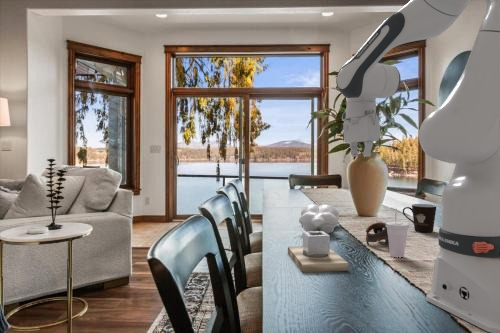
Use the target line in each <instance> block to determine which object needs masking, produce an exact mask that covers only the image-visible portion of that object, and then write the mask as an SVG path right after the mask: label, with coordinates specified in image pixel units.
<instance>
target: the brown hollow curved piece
mask: <svg viewBox="0 0 500 333" xmlns="http://www.w3.org/2000/svg"><path fill="white" fill-rule="evenodd" d="M371 231H373V233H370V232H371ZM365 234H366V235H365V241H366V244H367V245H369V243H377V242H381V241H385V243H389V241H388V233H387V227H386V222H380V221H379V222H374V223H372V224H370V225H369V226H367V228H366V229H365Z"/></svg>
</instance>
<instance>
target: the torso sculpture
mask: <svg viewBox="0 0 500 333" xmlns="http://www.w3.org/2000/svg"><path fill="white" fill-rule="evenodd" d="M336 208H337V207H334V206H333V205H331V204H327V203H325V204H321V205H319V204H316V203H311V204H307V205H306V206H304V207H303V208H302V209H301V212H300V217H299V218H298V222H299V223H300V225H301V226H302V227H303V229H304V230H303V231H304V232H308V231H324V232H325V233H327V234H328V235H330V234H331V233H332V232H333V231H334V228H335V227H337V226H338V224H339V218H340V214H339V213H340V212H339V211H338V209H336Z"/></svg>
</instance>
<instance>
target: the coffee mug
mask: <svg viewBox="0 0 500 333" xmlns="http://www.w3.org/2000/svg"><path fill="white" fill-rule="evenodd" d="M437 208H438V207H437V205H435V204H429V203H428V204H427V203H413V204H412V203H411V207H410V206H405V207H404V208H402V215H403V216H404V217H405V218H406V219H407V220H408V221H410V222H411V223H412V224H413V228H414V231H415V232H417V233H421V234H430V233H433V232H434V227H435V221H436V212H437ZM406 209H409V210H410V211H411V212H412V218H413V219H411V218H410V217H408V216H407V215H406V214H405V210H406Z"/></svg>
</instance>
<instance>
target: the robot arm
mask: <svg viewBox="0 0 500 333" xmlns="http://www.w3.org/2000/svg"><path fill="white" fill-rule="evenodd" d="M472 1H473V0H409V1H408V3H406V4H405V5H404V6H403V7H401V8H400V9H399V10H397V11H396V12H394V13H392V14H391V15H389V16H388V17H387V18H386V19H384V21H383V22H382V23H381V24H380V25H379V26H378V27H377V29H376V30H374V32H372V34H371V35H370V37H369V38H367V40H366V42H364V44H362V46H361V47H360V48H359V49H358V51H357V52H356V53H355V54H353V56H352V57H351V58H350V59H348V60H347V61H346V62H345V63H344V64H343V65H342V66H341V67H340V68H339V70H338V72H337V74H336V81H335V82H336V83H335V84H336V86H337V89H338V90H339V93H341V95H343V97H345V98H347V99H346V108H345V111H343V113H342V115H341V119H342V121H344V122H343V127H342V129H343V130H342V131H343V139H344V142H345V144H348V143H349V148H350V152H351V156H352V157H353V158H354V157H355V158H356V157H359V150H358V143H363V144H364V150H363V152H362V154H363V155H362V156H363V157H365V158H367V157H368V158H370V157H371V156H372V152H371V151H372V149H373V146H374V142H378V141H380V138H381V124H380V123H381V122H380V118H379V116H378V115H377V105H376V104H377V101H376V99H388V98H391V97H392V98H393V96H394V95H395V94H396V93H397V92H398V91H399V89H400V85H401V80H402V79H401V78H402V77H401V74H400V73H401V72H400V70H399V69H398V67H396V66H394V65H390V64H386V63H381V62H380V61H381V60H382V58H383V57H384V56H385V55H386V54H387V53H388V52H389V51H391V50H392V49H393V48H396V47H398V46H401V45H403V44H408V43H411V42H412V43H413V42H417V41H422V40H423V41H424V40H428V39H429V40H430V39H433V38H436V37H438V36H440V35H441V34H443V33H444V32H446V31H447V30H448V29H449V28H450V27H451V26H452V25H453V24H454V23H455V22H456V21H457V19H459V17H460V16H461V15H462V13H463V12H464V11H465V9H466V8H467V7H468V6H469V4H470V3H471V2H472ZM485 2H486V9H485V13H484V16H483V19H482V21H481V24H480V26H479V28H478V31H477V35H476V37H475V40H474V43H473V45H472V49H471V51H470V54H469V56H468V59H467V61H466V64H465V67H464V68H463V69H464V70H463V71H462V73H461V75H460V77H459V79H458V81H457V82H456V84H455V85H454V87H453V88H452V90H451V92H449V94H448V96H447V97H446V99H445V100H444V101H443V102H442V104H440V106H438V107H437V109H435V110H434V111H432V112H431V113H429V114H428V115H427V116H426V118H424V120H423V121H422V123H421V124H420V128H419V131H418V141H419V142H418V143H419V144H420V147H421V149H422V151H423V152H424V153H425V154H426V155H427V156H428V157H430V158H432V159H435V160H438V161H441V162H443V163H448V164H453V165H454V164H455V165H454V169H453V172H452V175H451V177H450V180H449V182H448V183H447V184H446V185H445V186H444V188H443V190H442V192H441V215H440V217H441V218H440V219H441V221H440V224H441V225H440V226H441V227H440V228H439V229H438V235H437V236H438V237H437V238H438V245H439V247H440V249H439V251H438V254H437V256H436V257H435V259H434V262H433V269H432V270H433V271H432V279H431V285H430V286H431V288H430V292H428V293H427V294H426V295H425V296H426V297H425V300H426V301H427V302H428V303H431V304H432V305H434V306H437V307H438V308H440V309H442V310H444V311H446V312H447V313H450V314H451V315H454V316H456V317H458V318H460V319H462V320H464V321H466V322H467V323H470V324H472V325H473V326H476V327H478V328H480V329H482V330H483V331H485V332H488V333H500V0H485ZM379 62H380V63H379Z"/></svg>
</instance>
